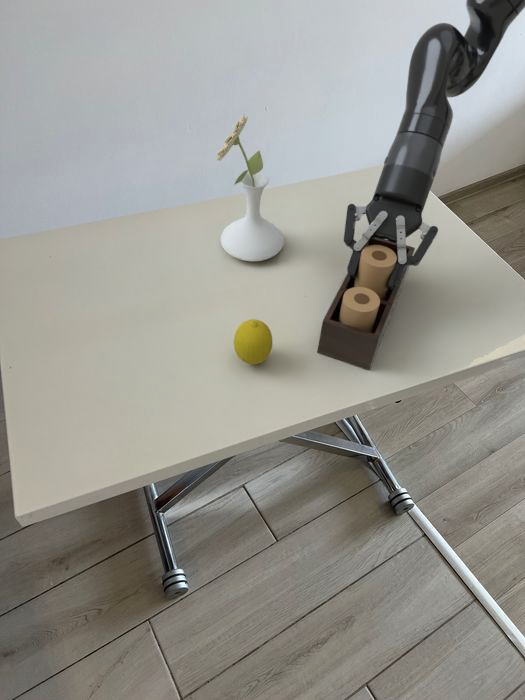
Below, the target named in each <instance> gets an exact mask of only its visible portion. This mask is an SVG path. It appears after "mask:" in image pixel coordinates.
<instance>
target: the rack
mask: <svg viewBox="0 0 525 700" xmlns="http://www.w3.org/2000/svg"><path fill="white" fill-rule="evenodd" d="M370 245H382V246H385V247H388V248H390V249H391V250H392V251H394V253H395V254H396V256H397V261H396V264H397V262H398V249H397V242H396V243H393V242H390V241H389V240H387V239H379V238H376V237H375V238H374V239H373V241H372V242H371V243H370V244H369V245H368V246H370ZM415 251H416V247H413V246H411V245H407V244H406V256H413V255H414V254H415ZM409 269H410V266H407V267H405V269H404V271H403V274H402V277H401V280H400V283H399V285H398V286H397V287H394V286H393V288H392V290H390V289H388V291H387V294H386V298H385V300H382V299H380V305H379V309H378V312H377V316H376V319H375V323H374V326H373V330H372V333H370V332H367V331H364V330H361V329H358V328H355V327H352V326H349V325H346V324H343V323H340V322H338V320H339V315H340V310H341V305H342V300H343V296H344V293H345V292H346V291H347V290H348V289H350V288H353V287H354V283H355V279H354V278H350V277H349V275H350V273H348V272H347V273H346V275H345V277H344V279H343V281H342V283H341V285H340V287H339V288H338V291H337V292H336V295H335V296H334V298H333V300H332V302H331V303H330V306H329V308H328V310H327V312H326V313H325V315H324V317H323V319H322V322H321V327H320V328H321V329H320V334H319V339H318V346H317V350H316V353H317V354H320V355H323V356H326V357H328V358H332V359H334V360H337V361H339V362H343V363H346V364H349V365H352V366H355V367H357V368H360V369H363V370H366V371H370V370H371V367H372V364H373V362H374V360H375V358H376V355H377V352H378V349H379V347H380V345H381V343H382V340H383V337H384V334H385V333H386V330H387V326H388V324H389V322H390V319H391V317H392V314H393V311H394V309H395V307H396V305H397V301H398V299H399V297H400V294H401V293H402V289H403V286H404V284H405V281H406V278H407V276H408V273H409ZM355 278H356V276H355Z"/></svg>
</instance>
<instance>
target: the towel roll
mask: <svg viewBox="0 0 525 700" xmlns="http://www.w3.org/2000/svg"><path fill="white" fill-rule="evenodd" d="M396 261H397V256H396V254H395V253H394V251H392V250H391V249H390V248H388V247H385V246H382V245H370V246H367V247H365V248H364V249H363V250H362V252H361V257H360V261H359V265H358V270H357V274H356V278H355V283H354V287H365V288H368V289H370V290H372V291H374V292H375V293H376V294H377V295H378V296H379V298H380V299H382V300H385V298H386V294H387V291H388V289H387V286H388V283H389V280H390V278H391V275H392V272H393V269H394V266H395V264H396Z"/></svg>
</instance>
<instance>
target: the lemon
mask: <svg viewBox="0 0 525 700" xmlns="http://www.w3.org/2000/svg"><path fill="white" fill-rule="evenodd" d="M233 349H234V351H235V354H236V356H237V358H239V360H240V361H242V362H243V363H245V364H248V365H259V364H261V363H263V362H264V361H265V360H267V359H268V357H269V356H270V354H271V352H272V349H273V334H272V332H271V329H270V328H269V326H268V325H267V324H266V323H265V322H264V321H262V320H260V319H257V318H255V319H254V318H251V319H248V320H247V319H246V320H244V321H242V323H241V324H239V326H238V327H237V328H236V331H235V334H234V338H233Z"/></svg>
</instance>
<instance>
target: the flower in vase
mask: <svg viewBox="0 0 525 700" xmlns="http://www.w3.org/2000/svg"><path fill="white" fill-rule="evenodd" d="M248 118H249V115H247V114H244V113H243V114H242V116H241V118H240V120H237V121H236V123H235V125H234V127H233V128H234V129H233V132H232V133H231V134H230V135H229V136H227V137H226V138H225V140H224V145H223V146H222V147H221V148H220V150H218V152H217V154H216V161H218V162H220V161H222V159H224V158H225V156H226V155H227V154H228V153H229V151H230V150H231V149H232V148H233V146H238V147H239V148H240V151H241V153H242V155H243V157H244V160H245V163H246V167H247V169H246V170H244V171H243V172H242V173H241V174H239V176H238V177H237V178H236V180H235V181H234V184H233V186H235V185H237V184H239V183H240V185H241V186H242V188H243V189H244V192H245V198H246V211H245V215H244V216H243V217H241V218H238V219H236V220H234V221H233V222H231V223H230V224H228V225H227V226H226V227H225V228H224V230H223V231H222V233H221V235H220V244H221V247H222V248H223V249H224V251H225V252H227V254H229V255H230V256H231V257H233V258H235V259H237V260H241V261H245V262H262V261H265V260H269V259H271V258H273V257H275V256H276V255H277V254H278V253H280V251H281V250H282V249H283V247H284V244H285V238H284V236H283V233H282V232H281V230H280V229H279V228H278V227H277V226H276V225H275V224H274V223H273V222H271V221H269V220H268V219H266V218H264V217H262V215H261V200H262V194H263V191H264V189H265V188H266V187H267V186H268V185H269V183H270V177H269V176H268V175H267V174H265V173H264V172H262V170H263V169H264V161H263V158H262V155H261V154H262V153H261V151H260V150H257V151H256V152H255V153H254V154H253V155H252V156H251V157H249V159H248V157H247V155H246V151H245V150H244V147H243V145H242V143H241V140H240V135H241V133H242V131H243V130H244V128H245V126H246V124H247V121H248Z"/></svg>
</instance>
